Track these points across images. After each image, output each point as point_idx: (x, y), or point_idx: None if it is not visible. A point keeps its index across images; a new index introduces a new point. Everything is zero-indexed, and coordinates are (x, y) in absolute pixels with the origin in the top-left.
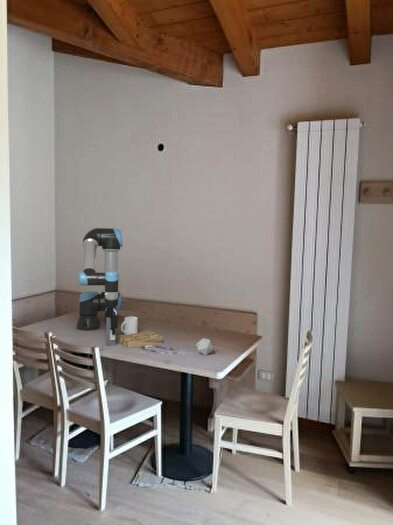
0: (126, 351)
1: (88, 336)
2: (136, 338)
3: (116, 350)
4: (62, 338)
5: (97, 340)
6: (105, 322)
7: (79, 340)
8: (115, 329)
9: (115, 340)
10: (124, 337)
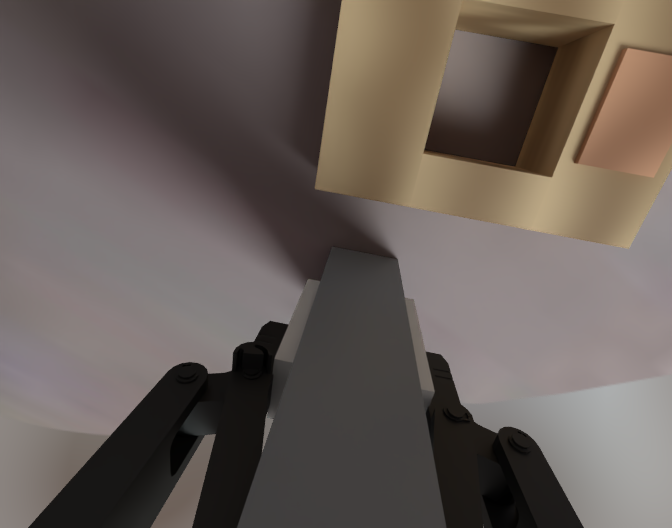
0: (619, 296)
1: (26, 272)
2: (644, 83)
3: (521, 338)
4: (23, 421)
5: (172, 285)
6: (181, 455)
7: (113, 377)
8: (415, 361)
9: (401, 280)
10: (442, 178)
